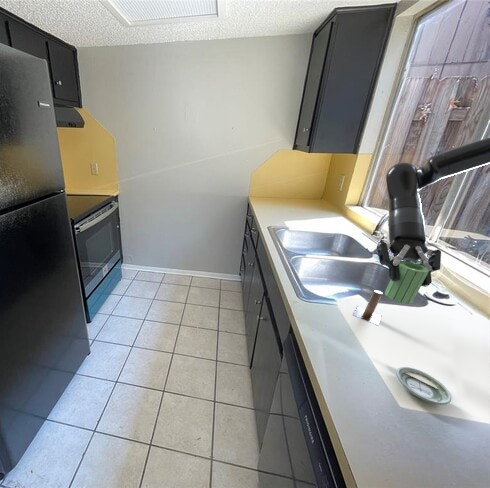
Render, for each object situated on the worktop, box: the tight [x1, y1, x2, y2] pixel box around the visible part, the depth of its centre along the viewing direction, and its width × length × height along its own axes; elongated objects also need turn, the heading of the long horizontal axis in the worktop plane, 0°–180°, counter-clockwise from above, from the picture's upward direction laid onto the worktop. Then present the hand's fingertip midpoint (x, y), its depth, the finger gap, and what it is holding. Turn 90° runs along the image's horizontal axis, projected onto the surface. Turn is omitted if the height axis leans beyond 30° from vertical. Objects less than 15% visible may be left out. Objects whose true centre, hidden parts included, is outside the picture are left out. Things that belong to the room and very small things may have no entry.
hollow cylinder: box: [384, 260, 429, 305], centre depth 70 cm, size 6×6×10 cm
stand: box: [352, 289, 383, 327], centre depth 83 cm, size 7×7×11 cm
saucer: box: [395, 366, 452, 405], centre depth 61 cm, size 10×10×2 cm
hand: (410, 282), depth 68 cm, fingers closed on hollow cylinder, 6 cm apart
